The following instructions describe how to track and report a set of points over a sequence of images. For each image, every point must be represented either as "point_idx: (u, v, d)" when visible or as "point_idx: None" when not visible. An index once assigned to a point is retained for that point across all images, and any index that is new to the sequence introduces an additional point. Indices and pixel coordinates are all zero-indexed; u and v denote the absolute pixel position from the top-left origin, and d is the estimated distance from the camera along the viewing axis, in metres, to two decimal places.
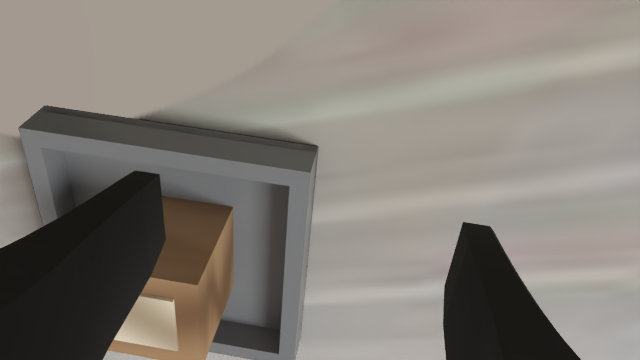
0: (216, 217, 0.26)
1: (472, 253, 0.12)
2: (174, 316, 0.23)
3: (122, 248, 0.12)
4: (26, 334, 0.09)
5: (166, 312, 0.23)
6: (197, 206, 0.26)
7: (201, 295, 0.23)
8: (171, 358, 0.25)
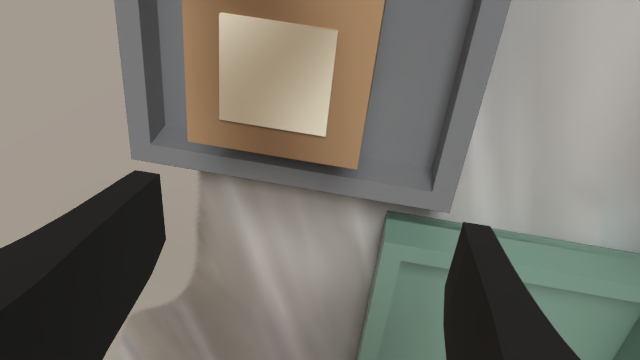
0: None
1: (472, 253, 0.12)
2: (255, 19, 0.14)
3: (122, 248, 0.12)
4: (26, 334, 0.09)
5: (245, 29, 0.15)
6: None
7: None
8: (367, 47, 0.14)
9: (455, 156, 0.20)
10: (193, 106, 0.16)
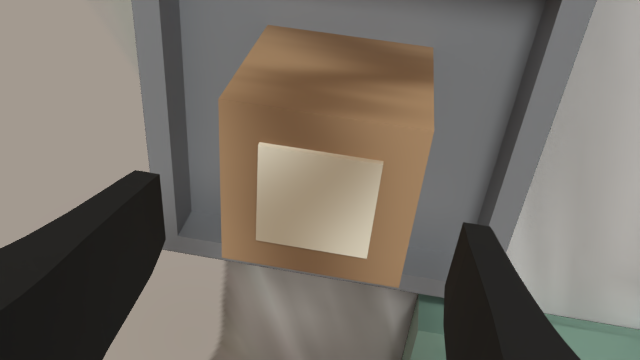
0: None
1: (472, 253, 0.12)
2: (296, 149, 0.14)
3: (122, 248, 0.12)
4: (26, 334, 0.09)
5: (285, 159, 0.14)
6: None
7: (262, 97, 0.14)
8: (413, 177, 0.14)
9: None
10: (228, 226, 0.16)
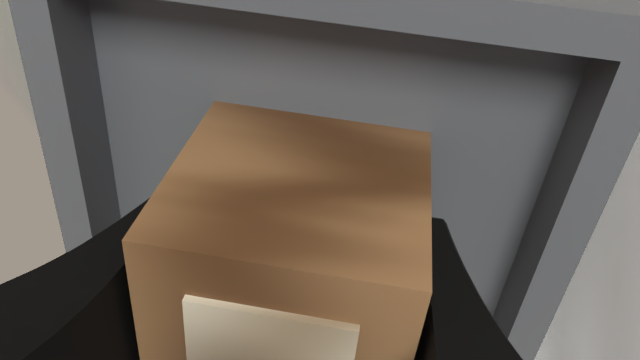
0: None
1: None
2: (236, 307, 0.10)
3: None
4: (88, 345, 0.09)
5: (221, 318, 0.10)
6: None
7: (187, 234, 0.10)
8: (402, 346, 0.10)
9: None
10: None
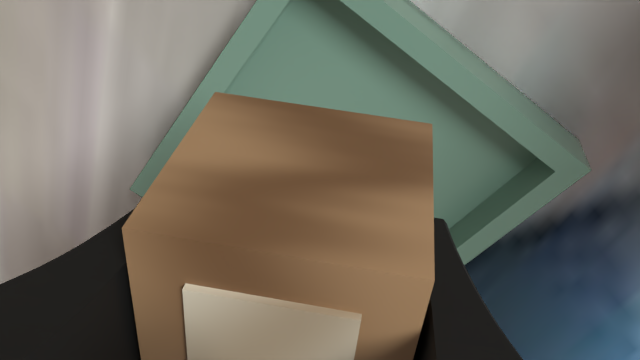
0: None
1: None
2: (236, 296, 0.10)
3: None
4: (88, 345, 0.09)
5: (221, 308, 0.10)
6: None
7: (187, 222, 0.10)
8: (404, 335, 0.10)
9: None
10: None
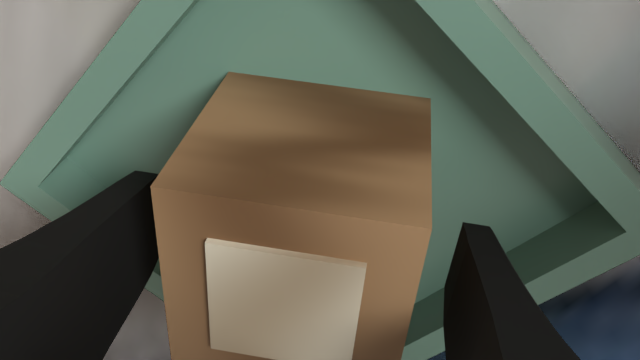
0: None
1: (472, 253, 0.12)
2: (254, 248, 0.11)
3: (122, 248, 0.12)
4: (26, 334, 0.09)
5: (240, 260, 0.11)
6: None
7: (209, 182, 0.11)
8: (406, 283, 0.11)
9: None
10: (177, 330, 0.12)
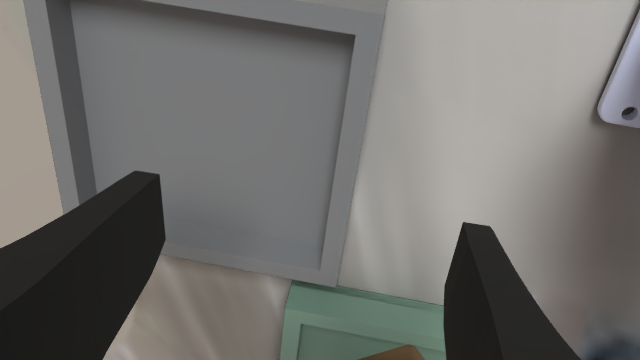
0: None
1: (472, 253, 0.12)
2: None
3: (122, 248, 0.12)
4: (26, 334, 0.09)
5: None
6: None
7: None
8: None
9: (335, 244, 0.24)
10: None
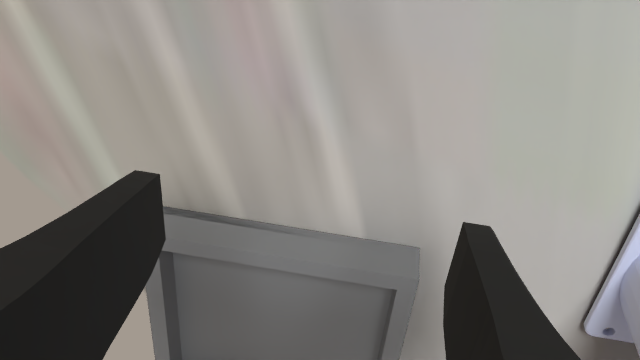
0: None
1: (472, 253, 0.12)
2: None
3: (122, 248, 0.12)
4: (26, 334, 0.09)
5: None
6: None
7: None
8: None
9: None
10: None
